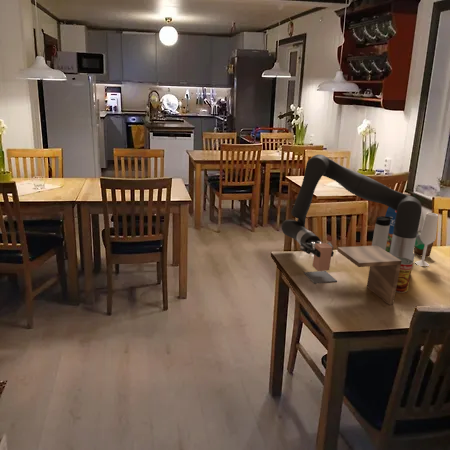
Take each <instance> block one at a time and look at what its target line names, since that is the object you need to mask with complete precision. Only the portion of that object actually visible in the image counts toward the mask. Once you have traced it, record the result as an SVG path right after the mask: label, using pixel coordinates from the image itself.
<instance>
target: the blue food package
mask: <svg viewBox="0 0 450 450" xmlns="http://www.w3.org/2000/svg"><path fill="white" fill-rule="evenodd" d="M387 207H388V208H387V209H386V212H385V215H384V216H386V217H391V218H392V219H391V221H390V227H389V233H388V239H387V244H386V250H385V251H387V252H388V253H390V248H391V242H392V237H393V231H394V225H395V219H396V213H397V211H396V210H394V209H392V208H391V207H389V206H387Z"/></svg>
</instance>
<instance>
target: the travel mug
mask: <svg viewBox="0 0 450 450" xmlns="http://www.w3.org/2000/svg"><path fill="white" fill-rule="evenodd" d="M391 219H392V218H391V217H386V216H385V215H384V216H383V215H381V216H377V217H376V218H375V224H374V231H373V235H372V237H373V238H372V242H371V246H378V247H380V248H382V249H383V250H386V244H387V239H388V233H389V227H390V221H391Z"/></svg>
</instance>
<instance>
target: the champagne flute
mask: <svg viewBox="0 0 450 450" xmlns="http://www.w3.org/2000/svg"><path fill="white" fill-rule="evenodd" d="M438 219H439V214H437V213H435V212H426V214H425V217H424V220H423V224H422V227H421V229H420V230H421V233H420V239H421V241H422V242H423V243H424V244H425V245H424V250H423V255H422V256H421V259H420V260H417V261H415V263H416V264H417V265H416V264H415V263H414V264H415V265H416V266H418V265H420V266H419V267H421V266H429V265H430V264H429V263H428V262H427V261H426V260H425V259H426V257H425V255H426V250H427V245H428V244H431V243H432V242H433V243H435V241H436V240H437V239H436V238H437V230H438ZM429 267H430V266H429Z"/></svg>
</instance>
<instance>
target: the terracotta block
mask: <svg viewBox="0 0 450 450" xmlns="http://www.w3.org/2000/svg"><path fill="white" fill-rule="evenodd" d="M315 248H316V249H317V250H318V251H320V253H321V255H320V257H317V256H316V255H314V254H313V258H312V259H313V260H312V267H313V268H314V269H315V270H316V271H326V272H327V271H328V272H329V271H330V268H331V259H332V257H331V254H332V247H331V246H330V245H329V244H328V242H323V243H316V244H315Z"/></svg>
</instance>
